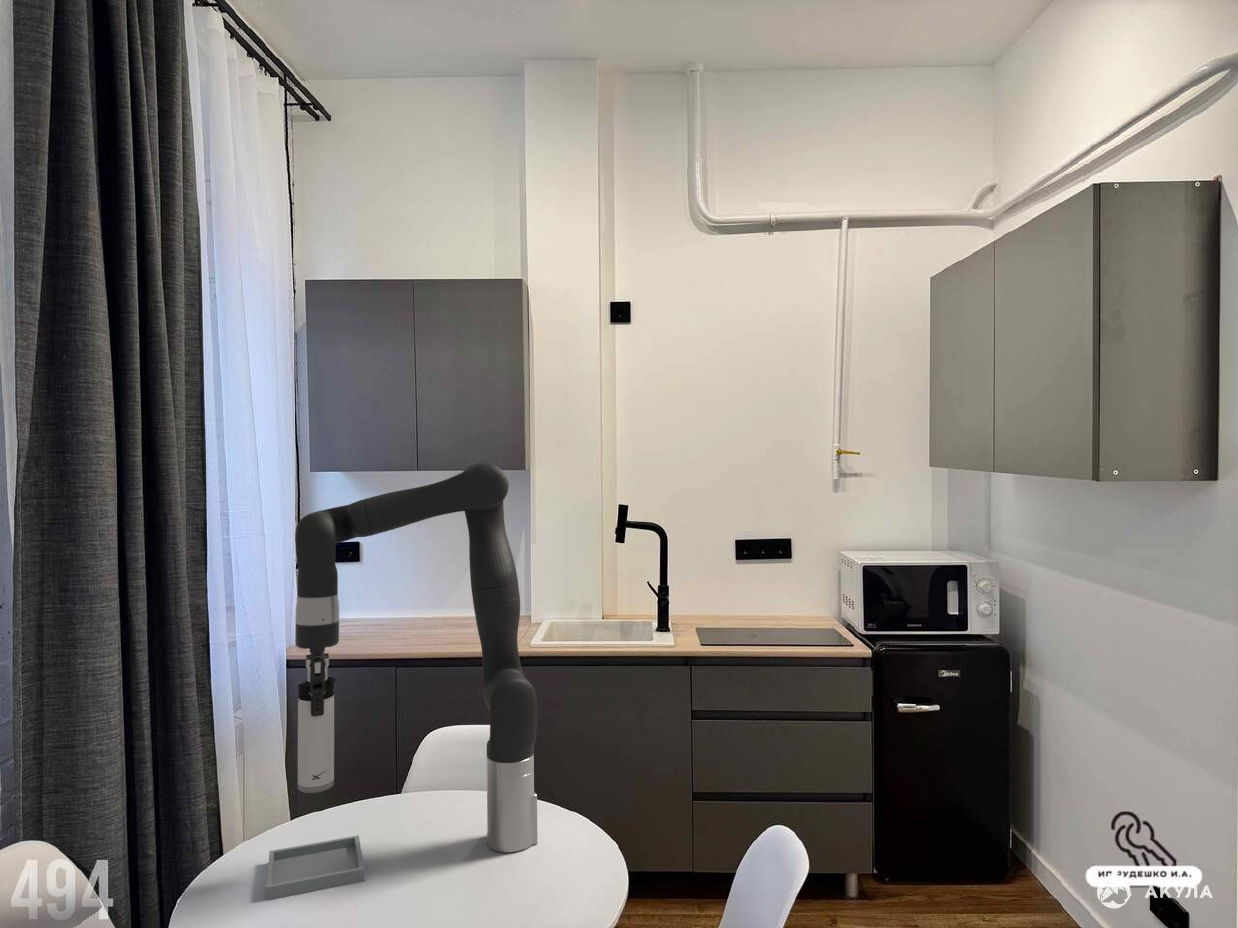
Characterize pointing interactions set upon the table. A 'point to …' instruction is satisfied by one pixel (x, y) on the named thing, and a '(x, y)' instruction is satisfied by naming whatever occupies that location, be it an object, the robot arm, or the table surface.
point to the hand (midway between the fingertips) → (317, 709)
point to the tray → (314, 867)
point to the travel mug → (315, 740)
